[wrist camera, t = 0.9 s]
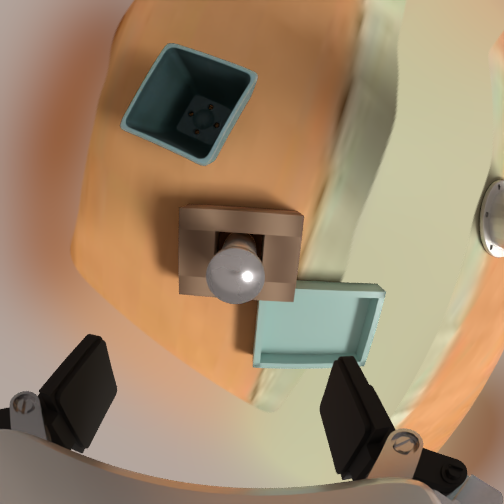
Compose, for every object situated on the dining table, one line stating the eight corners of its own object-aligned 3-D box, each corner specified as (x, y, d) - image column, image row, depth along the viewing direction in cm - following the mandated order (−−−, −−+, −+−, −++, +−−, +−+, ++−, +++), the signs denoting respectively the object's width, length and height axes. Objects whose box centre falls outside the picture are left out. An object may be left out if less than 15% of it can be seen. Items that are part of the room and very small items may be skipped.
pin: (262, 228, 30) (267, 250, 21) (258, 268, 31) (262, 305, 22) (220, 225, 30) (206, 246, 21) (218, 265, 31) (205, 301, 22)
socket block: (297, 211, 30) (304, 216, 26) (288, 287, 32) (293, 302, 28) (188, 204, 30) (179, 207, 26) (187, 280, 32) (179, 294, 28)
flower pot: (151, 140, 28) (116, 127, 19) (188, 74, 26) (167, 40, 17) (219, 171, 29) (206, 168, 20) (257, 103, 27) (260, 73, 18)
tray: (377, 283, 32) (386, 291, 30) (358, 354, 35) (364, 366, 32) (259, 278, 32) (260, 286, 29) (252, 354, 35) (252, 367, 32)
